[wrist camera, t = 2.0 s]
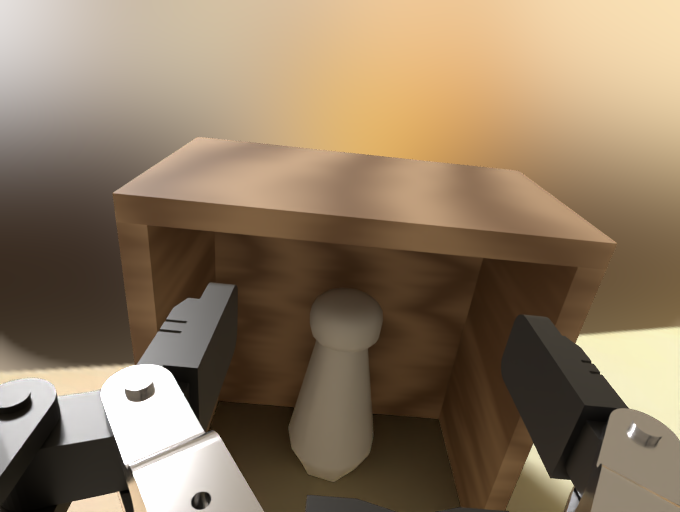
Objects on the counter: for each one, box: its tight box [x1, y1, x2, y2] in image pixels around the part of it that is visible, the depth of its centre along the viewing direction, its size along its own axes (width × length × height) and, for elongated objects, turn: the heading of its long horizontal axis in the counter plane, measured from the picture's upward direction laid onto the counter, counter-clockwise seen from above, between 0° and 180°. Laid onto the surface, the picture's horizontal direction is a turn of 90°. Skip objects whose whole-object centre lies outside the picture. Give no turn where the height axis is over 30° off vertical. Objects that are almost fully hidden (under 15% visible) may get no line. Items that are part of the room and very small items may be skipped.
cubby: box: [113, 137, 617, 511], centre depth 27 cm, size 20×11×20 cm, turn 90°
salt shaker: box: [288, 288, 383, 482], centre depth 28 cm, size 6×6×13 cm
